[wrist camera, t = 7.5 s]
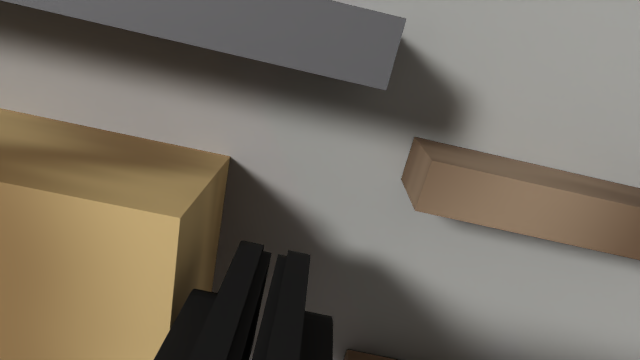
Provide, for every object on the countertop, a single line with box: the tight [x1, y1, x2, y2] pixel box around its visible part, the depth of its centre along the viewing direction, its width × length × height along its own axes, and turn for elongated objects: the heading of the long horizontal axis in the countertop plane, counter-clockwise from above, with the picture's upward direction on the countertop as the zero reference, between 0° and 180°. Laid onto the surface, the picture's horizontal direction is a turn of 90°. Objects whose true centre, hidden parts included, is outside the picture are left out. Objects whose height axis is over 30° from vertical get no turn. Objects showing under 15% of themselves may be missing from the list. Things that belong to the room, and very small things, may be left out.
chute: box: [344, 137, 640, 360], centre depth 11 cm, size 12×8×2 cm
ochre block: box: [0, 108, 230, 360], centre depth 10 cm, size 7×5×4 cm
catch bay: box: [1, 0, 406, 90], centre depth 10 cm, size 14×13×3 cm
